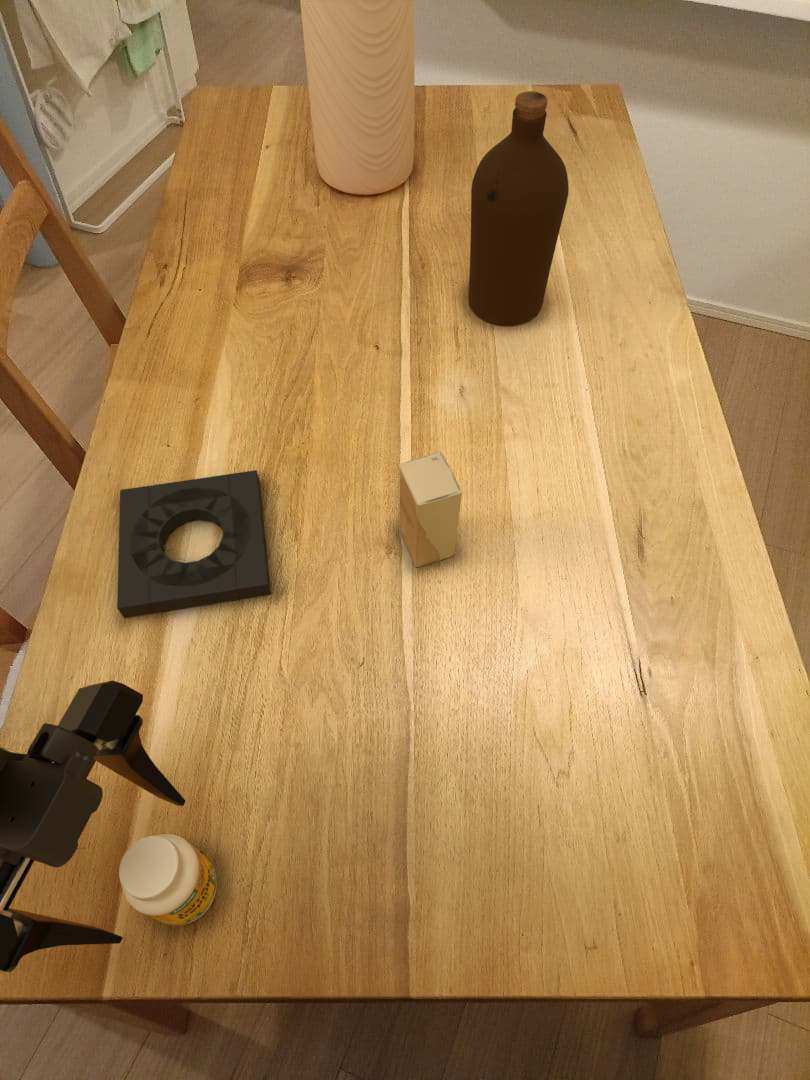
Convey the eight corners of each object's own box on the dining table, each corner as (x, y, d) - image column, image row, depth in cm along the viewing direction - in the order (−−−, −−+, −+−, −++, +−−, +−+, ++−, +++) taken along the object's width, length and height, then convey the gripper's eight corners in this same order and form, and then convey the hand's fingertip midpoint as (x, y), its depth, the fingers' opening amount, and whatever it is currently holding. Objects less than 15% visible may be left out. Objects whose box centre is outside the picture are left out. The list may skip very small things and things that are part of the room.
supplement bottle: (173, 841, 62) (138, 811, 54) (231, 869, 61) (203, 843, 53) (135, 908, 59) (92, 887, 51) (195, 939, 58) (160, 923, 50)
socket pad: (123, 618, 73) (117, 608, 71) (125, 501, 80) (119, 489, 79) (271, 594, 74) (267, 584, 73) (259, 481, 82) (256, 469, 80)
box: (398, 529, 78) (396, 460, 69) (437, 517, 79) (441, 447, 70) (416, 570, 76) (417, 505, 66) (457, 557, 76) (463, 490, 67)
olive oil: (541, 336, 94) (580, 133, 73) (456, 323, 95) (469, 120, 74) (551, 280, 99) (590, 77, 79) (471, 269, 101) (487, 67, 80)
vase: (413, 199, 109) (414, -69, 83) (312, 198, 109) (282, -70, 83) (415, 144, 117) (416, -118, 91) (321, 143, 117) (296, -118, 91)
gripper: (-152, 969, 35) (135, 1053, 43) (64, 622, 45) (268, 739, 52) (-181, 932, 43) (65, 1008, 51) (8, 644, 53) (191, 743, 60)
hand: (152, 868), depth 53 cm, fingers open, 9 cm apart
